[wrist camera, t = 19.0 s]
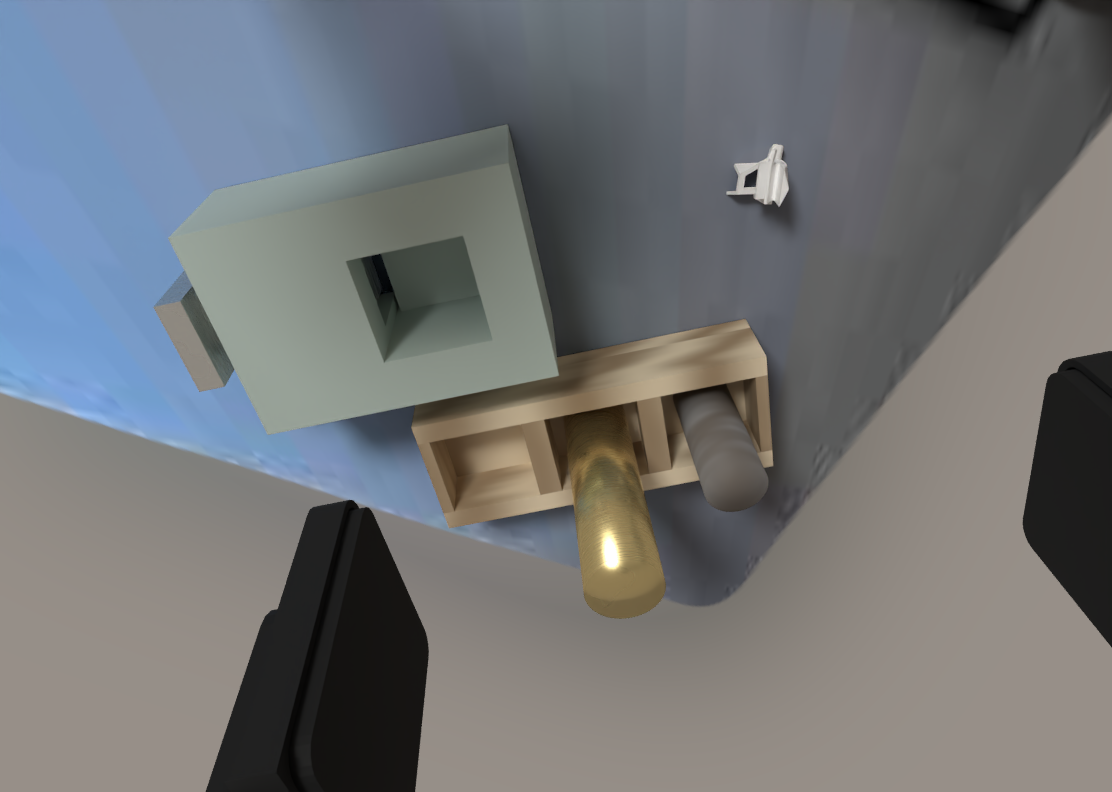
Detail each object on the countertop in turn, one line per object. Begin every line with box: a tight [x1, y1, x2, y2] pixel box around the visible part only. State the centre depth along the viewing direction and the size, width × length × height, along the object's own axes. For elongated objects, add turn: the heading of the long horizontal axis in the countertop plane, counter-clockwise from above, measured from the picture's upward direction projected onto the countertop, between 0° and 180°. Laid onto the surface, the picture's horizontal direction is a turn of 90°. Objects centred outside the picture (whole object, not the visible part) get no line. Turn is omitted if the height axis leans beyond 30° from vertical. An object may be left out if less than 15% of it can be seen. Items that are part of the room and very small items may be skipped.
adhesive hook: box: [726, 144, 789, 206], centre depth 36 cm, size 3×3×3 cm
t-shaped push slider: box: [154, 256, 382, 392], centre depth 36 cm, size 8×4×5 cm, turn 102°
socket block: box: [168, 124, 559, 435], centre depth 36 cm, size 14×10×6 cm
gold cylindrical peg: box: [563, 404, 666, 619], centre depth 38 cm, size 3×3×13 cm
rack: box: [411, 319, 773, 528], centre depth 40 cm, size 18×7×9 cm, turn 102°
